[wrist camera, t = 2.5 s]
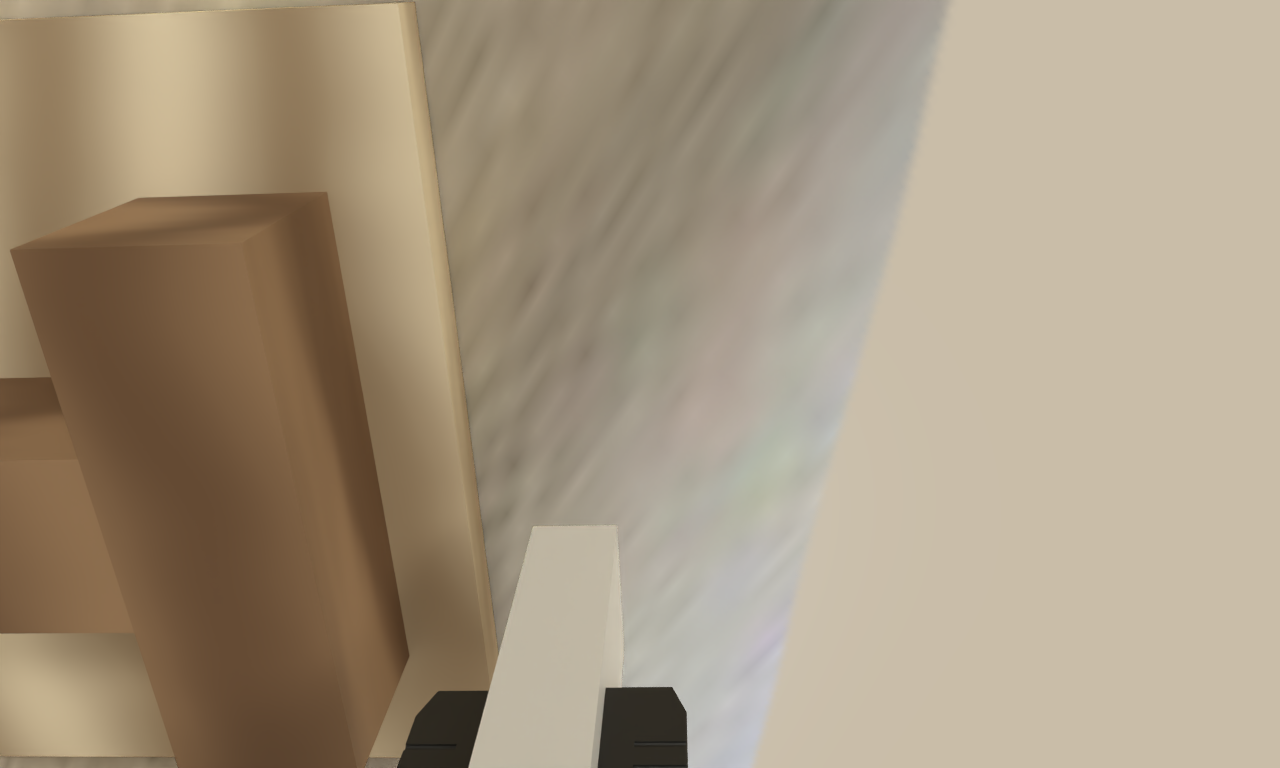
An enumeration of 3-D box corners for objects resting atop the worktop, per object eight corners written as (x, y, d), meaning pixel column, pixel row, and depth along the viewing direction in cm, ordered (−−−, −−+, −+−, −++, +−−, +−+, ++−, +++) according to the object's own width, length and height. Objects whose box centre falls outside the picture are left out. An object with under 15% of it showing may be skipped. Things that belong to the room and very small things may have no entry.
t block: (327, 191, 19) (241, 242, 15) (409, 655, 24) (359, 779, 20) (-226, 209, 20) (-436, 262, 16) (-36, 657, 24) (-163, 777, 21)
